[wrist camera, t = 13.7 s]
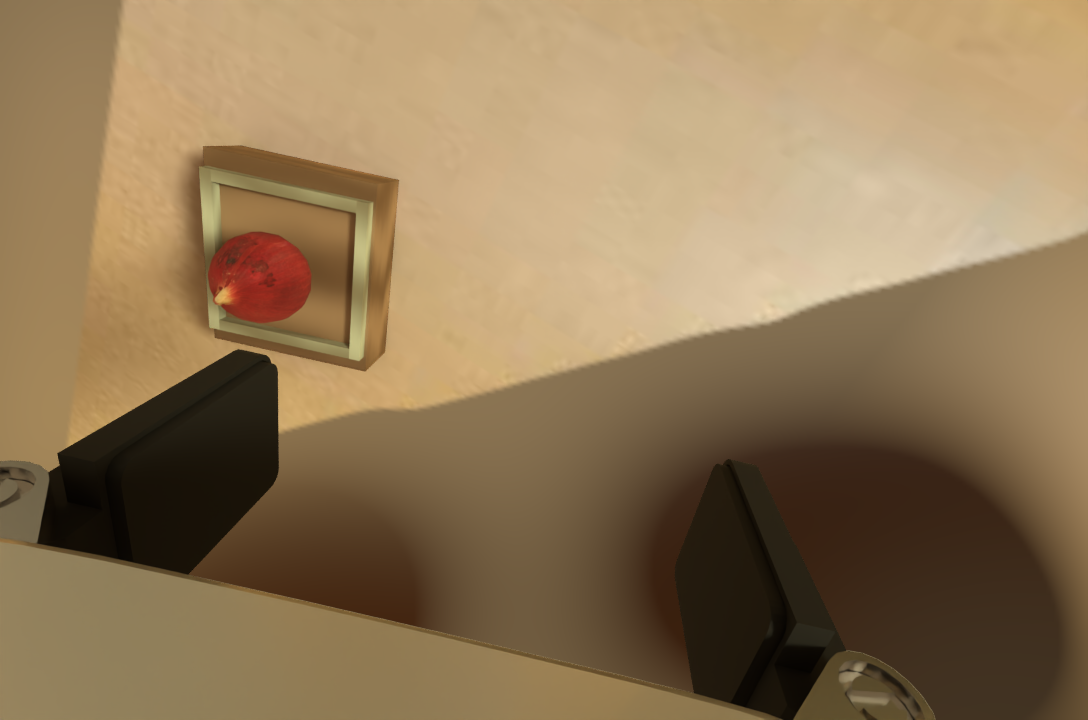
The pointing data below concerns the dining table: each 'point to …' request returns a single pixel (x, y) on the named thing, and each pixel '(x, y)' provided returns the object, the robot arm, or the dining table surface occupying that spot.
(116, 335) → the dining table surface
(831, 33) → the dining table surface
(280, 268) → the onion
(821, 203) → the dining table surface
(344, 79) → the dining table surface
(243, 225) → the plinth
